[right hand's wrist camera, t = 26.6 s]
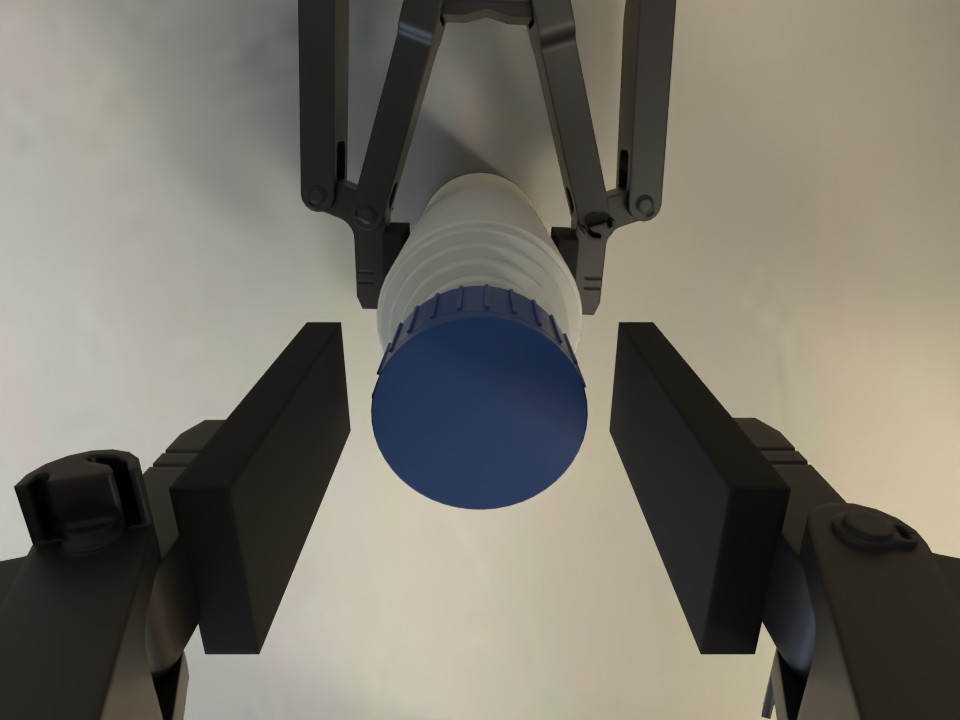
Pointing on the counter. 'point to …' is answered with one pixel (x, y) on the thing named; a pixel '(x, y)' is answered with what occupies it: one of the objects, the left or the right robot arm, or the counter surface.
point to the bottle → (479, 255)
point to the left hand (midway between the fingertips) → (476, 380)
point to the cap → (479, 399)
